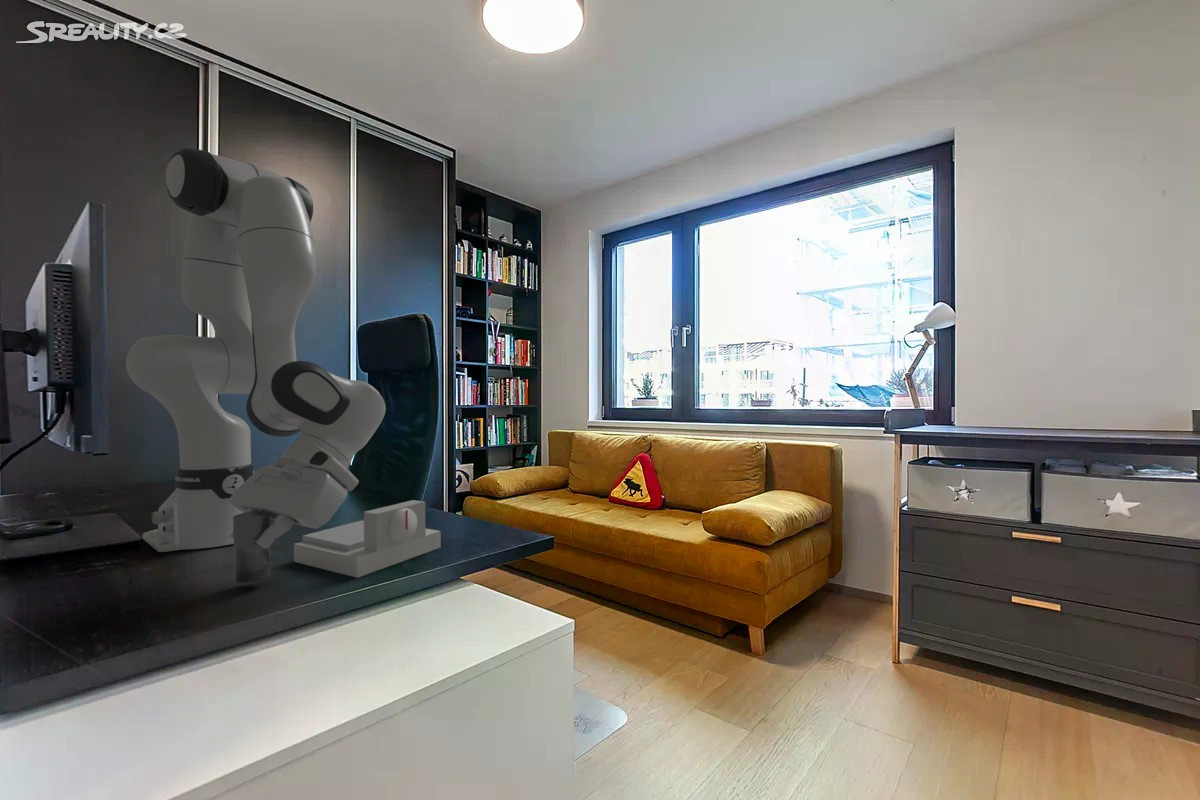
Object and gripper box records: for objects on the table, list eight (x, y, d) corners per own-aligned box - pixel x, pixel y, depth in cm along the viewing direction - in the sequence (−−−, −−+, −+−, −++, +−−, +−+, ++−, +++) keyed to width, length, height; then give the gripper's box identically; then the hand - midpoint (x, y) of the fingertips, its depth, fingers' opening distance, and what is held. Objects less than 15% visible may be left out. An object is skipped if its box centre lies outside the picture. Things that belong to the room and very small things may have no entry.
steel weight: (227, 578, 74) (226, 516, 74) (259, 569, 78) (259, 510, 78) (244, 584, 72) (243, 520, 72) (276, 574, 76) (276, 513, 76)
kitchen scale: (294, 561, 86) (293, 507, 86) (380, 536, 101) (379, 490, 101) (359, 578, 78) (359, 519, 78) (442, 547, 93) (442, 498, 93)
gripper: (260, 449, 86) (192, 521, 77) (339, 458, 76) (272, 542, 68) (287, 472, 90) (225, 543, 81) (366, 483, 80) (305, 565, 72)
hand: (247, 542), depth 74 cm, fingers closed on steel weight, 4 cm apart
